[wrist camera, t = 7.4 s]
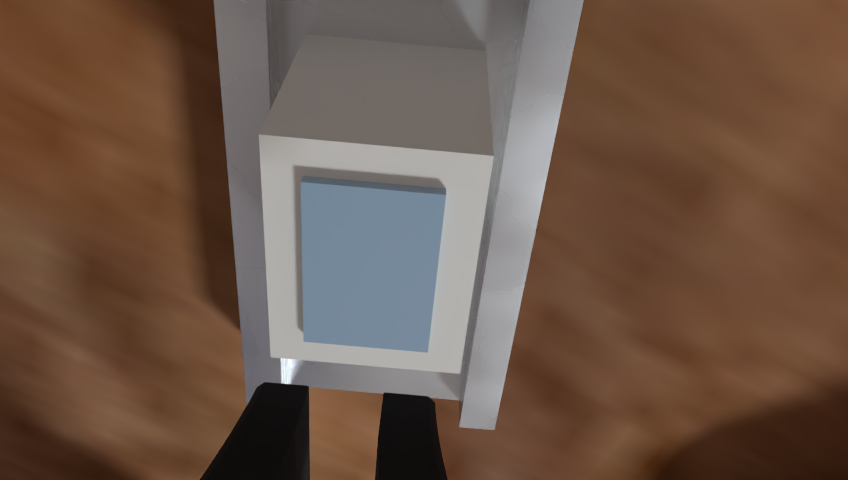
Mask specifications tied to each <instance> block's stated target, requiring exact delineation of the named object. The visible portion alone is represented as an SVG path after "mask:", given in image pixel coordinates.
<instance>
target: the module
mask: <svg viewBox="0 0 848 480" xmlns="http://www.w3.org/2000/svg"><path fill="white" fill-rule="evenodd" d="M259 148H260V167H261V185H262V204H263V223H264V241H265V260H266V279H267V297H268V316H269V335H270V353H271V357H272V358H284V359H295V360H307V361H319V362H330V363H342V364H353V365H365V366H376V367H388V368H399V369H411V370H422V371H434V372H445V373H457V374H460V371H461V364H462V358H463V351H464V345H465V338H466V332H467V325H468V319H469V313H470V306H471V300H472V293H473V287H474V280H475V274H476V267H477V261H478V255H479V248H480V242H481V235H482V229H483V222H484V216H485V209H486V203H487V196H488V190H489V184H490V177H491V171H492V164H493V158H494V152H493V139H492V125H491V111H490V98H489V84H488V70H487V57H486V51H482V50H471V49H460V48H450V47H439V46H428V45H417V44H407V43H396V42H385V41H375V40H364V39H353V38H342V37H332V36H321V35H310V34H306V35H305V37H304V39H303V41H302V43H301V45H300V47H299V50H298V52H297V54H296V56H295V58H294V60H293V62H292V65H291V67H290V69H289V71H288V73H287V75H286V77H285V80H284V82H283V84H282V86H281V88H280V90H279V92H278V94H277V97H276V99H275V101H274V103H273V105H272V107H271V109H270V112H269V114H268V116H267V118H266V120H265V122H264V124H263V127H262V129H261V131H260V133H259Z"/></svg>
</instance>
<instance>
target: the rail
mask: <svg viewBox="0 0 848 480" xmlns="http://www.w3.org/2000/svg"><path fill="white" fill-rule="evenodd" d="M582 5H583V0H214V11H215V23H216V35H217V47H218V60H219V72H220V84H221V96H222V108H223V120H224V132H225V145H226V157H227V169H228V181H229V193H230V205H231V218H232V230H233V242H234V254H235V266H236V278H237V290H238V303H239V315H240V327H241V339H242V351H243V363H244V376H245V388H246V400H247V405H248V403H249V401H250V399H251V397H252V395H253V393H254V392H255V390H256V388H257V387H258V386H259V385H261V384H262V383H264V382H271V383H282V384H294V385H305V386H309V387H313V388H324V389H336V390H347V391H359V392H370V393H382V394H384V392H386V393H397V394H409V395H420V396H428V397H429V398H439V399H451V400H459V427H465V428H477V429H488V430H494V429H495V425H496V420H497V415H498V410H499V405H500V401H501V396H502V391H503V386H504V381H505V376H506V372H507V367H508V362H509V357H510V352H511V348H512V343H513V338H514V333H515V328H516V323H517V319H518V314H519V309H520V304H521V299H522V294H523V290H524V285H525V280H526V275H527V270H528V266H529V261H530V256H531V251H532V246H533V241H534V237H535V232H536V227H537V222H538V217H539V213H540V208H541V203H542V198H543V193H544V188H545V184H546V179H547V174H548V169H549V164H550V160H551V155H552V150H553V145H554V140H555V135H556V131H557V126H558V121H559V116H560V111H561V106H562V102H563V97H564V92H565V87H566V82H567V78H568V73H569V68H570V63H571V58H572V53H573V49H574V44H575V39H576V34H577V29H578V25H579V20H580V15H581V10H582ZM306 34H310V35H321V36H332V37H342V38H353V39H364V40H375V41H385V42H396V43H407V44H417V45H428V46H439V47H450V48H460V49H471V50H482V51H486V57H487V70H488V84H489V98H490V111H491V125H492V139H493V152H494V158H493V164H492V171H491V177H490V184H489V190H488V196H487V203H486V209H485V216H484V222H483V229H482V235H481V242H480V248H479V255H478V261H477V267H476V274H475V280H474V287H473V293H472V300H471V306H470V313H469V319H468V325H467V332H466V338H465V345H464V351H463V358H462V364H461V371H460V374H457V373H445V372H434V371H422V370H411V369H399V368H388V367H376V366H365V365H353V364H342V363H330V362H319V361H307V360H295V359H284V358H272V357H271V353H270V335H269V316H268V297H267V279H266V260H265V241H264V223H263V204H262V185H261V167H260V148H259V133H260V131H261V129H262V127H263V124H264V122H265V120H266V118H267V116H268V114H269V112H270V109H271V107H272V105H273V103H274V101H275V99H276V97H277V94H278V92H279V90H280V88H281V86H282V84H283V82H284V80H285V77H286V75H287V73H288V71H289V69H290V67H291V65H292V62H293V60H294V58H295V56H296V54H297V52H298V50H299V47H300V45H301V43H302V41H303V39H304V37H305V35H306Z"/></svg>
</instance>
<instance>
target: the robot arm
mask: <svg viewBox="0 0 848 480" xmlns="http://www.w3.org/2000/svg"><path fill="white" fill-rule="evenodd" d="M200 480H310V457H309V386H305V385H294V384H282V383H271V382H264V383H262V384H261V385H259V386H258V387H257V388H256V390H255V392H254V393H253V395H252V397H251V399H250V401H249V403H248V405H247V406H246V408H245V410H244V412H243V413H242V415H241V417H240V418H239V420H238V422H237V424H236V425H235V427H234V428H233V430H232V432H231V433H230V435H229V437H228V438H227V440H226V441H225V443H224V444H223V446H222V447H221V449H220V450H219V452H218V454H217V455H216V457H215V458H214V460H213V461H212V463H211V464H210V466H209V467H208V469H207V470H206V472H205V473H204V474H203V476H202V477H201V479H200ZM375 480H447V476H446V471H445V467H444V463H443V458H442V453H441V448H440V443H439V437H438V430H437V422H436V413H435V402H434V401H433V400H431V399H430V398H429V397H428V396H420V395H409V394H397V393H386V392H384V395H383V403H382V411H381V419H380V427H379V436H378V447H377V461H376V475H375Z"/></svg>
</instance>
